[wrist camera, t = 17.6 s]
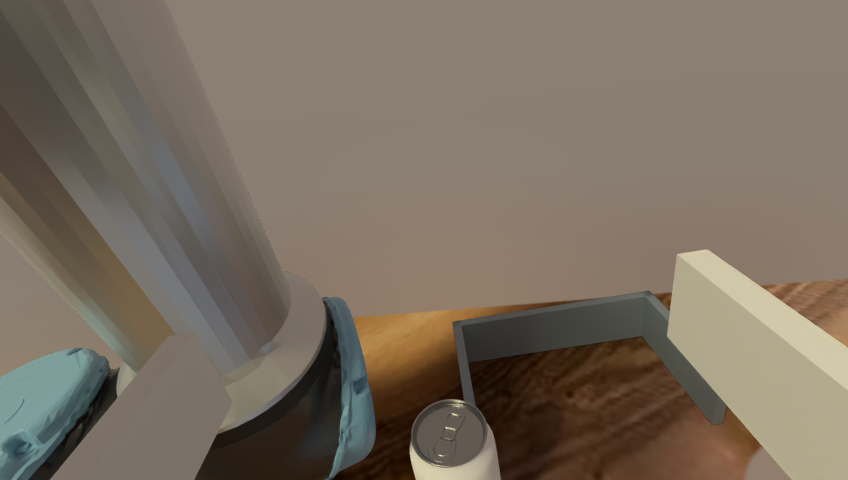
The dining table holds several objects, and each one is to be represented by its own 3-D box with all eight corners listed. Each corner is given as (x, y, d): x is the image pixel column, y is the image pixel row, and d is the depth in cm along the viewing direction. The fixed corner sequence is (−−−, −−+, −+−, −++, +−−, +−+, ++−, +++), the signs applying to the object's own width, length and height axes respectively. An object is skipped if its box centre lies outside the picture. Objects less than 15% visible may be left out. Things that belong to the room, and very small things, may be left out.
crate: (722, 423, 38) (732, 377, 36) (474, 458, 40) (466, 416, 37) (645, 329, 51) (649, 290, 48) (458, 358, 52) (452, 321, 50)
